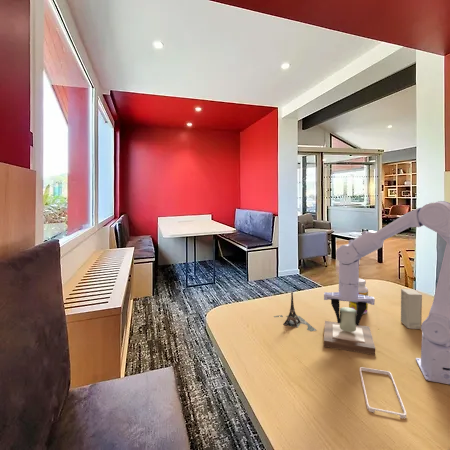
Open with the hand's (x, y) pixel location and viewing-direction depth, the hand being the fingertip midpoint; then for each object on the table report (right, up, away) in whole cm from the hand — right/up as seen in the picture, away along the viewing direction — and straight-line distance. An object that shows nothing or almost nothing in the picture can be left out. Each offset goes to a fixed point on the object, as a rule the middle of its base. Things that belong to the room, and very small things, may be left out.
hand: (347, 323), depth 88 cm
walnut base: (0, -5, +1) cm, 5 cm away
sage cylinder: (0, -2, 0) cm, 2 cm away
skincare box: (+26, -4, +9) cm, 28 cm away
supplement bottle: (+13, -3, +21) cm, 25 cm away
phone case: (-3, -9, -23) cm, 25 cm away
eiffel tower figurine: (-14, -5, +13) cm, 20 cm away
